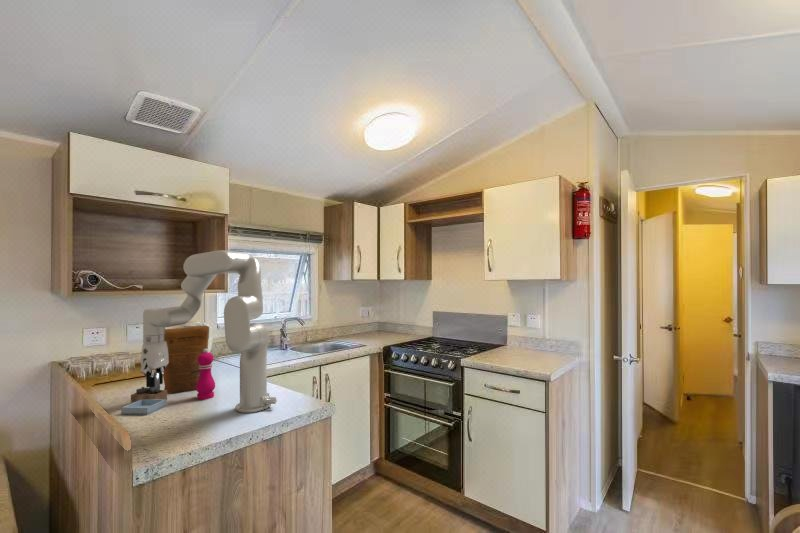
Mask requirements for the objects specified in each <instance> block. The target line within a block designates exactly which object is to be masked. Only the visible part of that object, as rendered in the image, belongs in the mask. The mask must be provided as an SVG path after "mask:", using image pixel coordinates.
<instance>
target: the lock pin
mask: <svg viewBox="0 0 800 533" xmlns="http://www.w3.org/2000/svg"><path fill="white" fill-rule="evenodd" d="M153 377H155V387H148V388H149V394H157V393H160V390H161V384H160V372H155V371H154V376H153Z"/></svg>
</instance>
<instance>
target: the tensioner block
mask: <svg viewBox="0 0 800 533" xmlns="http://www.w3.org/2000/svg"><path fill="white" fill-rule="evenodd" d="M141 399H167V400H168V393H167V390H164V389H160V393H157V394H149V387H145V386H141V388H137V389H136V390H135V392H134V393H131V394H130V404H131V403H134V402H136V401H139V400H141Z"/></svg>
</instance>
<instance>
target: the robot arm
mask: <svg viewBox="0 0 800 533" xmlns="http://www.w3.org/2000/svg"><path fill="white" fill-rule="evenodd" d="M182 266H183V271H184V273H185V274H186V277H184V279H183V281H182V282H181V284H180V288H181V289H182V291H183V292H184V293H185V294H186V295H187V296H186V297H185V299H184V300H183V302H182V303H181V305H179V306H173V307H172V306H170V307H164V308H162V307H149V308H146V309H144V310H142V347H141V352H140V354H141V355H140V356H141V357H140V366H141V369H140V371H139V373H141V374H143V375H144V377H145V379H146V380H145V381H146V387H145V388H149V387H155V377H153V376H154V372H160V385H164V384H163V383H164V378H163V373H164V369H165V367H166V366H167V365H168V363H169V355H168V346H167V342H166V341H165V329H166V328H170V327H175V326H181V325H185V324H187V323H189V322H190V321H191V320H192V319H193V318H194V317H195V315H196V314H197V313H198V311H199V310H200V308H201V305H202V301H203V294H204V293H205V291H206V290H207V289H208V287H209V286H210V285H211V283H212V282H213V281H214V280H215V278H216V277H217V275H218V274H219V275H221V274H238V275H239V277H238V279H237V295H235V296H232V297H231V298H229V299H228V300H227V301H226V303H225V305H224V308H223V322H224V335H225V337H224V338H225V343H226V346H227V348H228V349H229V350H230V351H231V352H232V353H235V354H240V356H239V403H237V404H236V405H235V408H234V410H235V411H236V412H239V413H246V414H247V413H256V412H257V411H258V412H261V410H262V411H265V410H267V409H268V407H269V408H270V407H271V406H272V405H276V404H277V396H275V397H274V396H273V397H271V396H270V392H268V391H267V390H268V389H267V385H268V383H267V381H268V380H267V374H268V373H267V371H268V370H267V369H268V368H267V366H268V365H267V363H268V362H267V360H268V359H267V356H268V355H267V354H268V345H269V341H270V340H269V339H270V334H269V331H268V330H269V329H268V328H267V327H266V326H265V325H264V324H262V323H259V322H252V323H251V321H253V320H255V319H258V318H260V317H261V316H262V315H263V312H264V300H263V289H262V288H263V286H262V269H261V265H260V262H259V261H258V259H257V258H256V257H255V256H253V255H252V254H249V253H246V252H243V251H238V250H237V251H234V250H226V249H225V250H224V249H222V250H221V249H220V250H213V251H209V252H202V253H195V254H192V255H190V256H188V257H187V258H185V261H184V262H183V265H182ZM266 408H267V409H266ZM264 409H265V410H264Z"/></svg>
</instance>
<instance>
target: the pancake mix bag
mask: <svg viewBox="0 0 800 533" xmlns="http://www.w3.org/2000/svg"><path fill="white" fill-rule="evenodd" d="M209 338H210V326H208V325H197V326H195V325H194V326H185V327H179V328H167V329H166V328H165V341H166V342H167V346H168V355H169V363H168V365H167V366H166V367H165V369H164V373H163V383H164V384H163V385H164V387H163V388H164V389H163V390H167V394H176V393H184V392H191V391H196V384H197V381H198V379H199V376H200V369H199V365H200V364H199V363H198V361H197V359H198V356H199V355H200V354H201V353H204V352H203V350H204V349H208V347H209ZM208 350H209V349H208Z"/></svg>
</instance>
